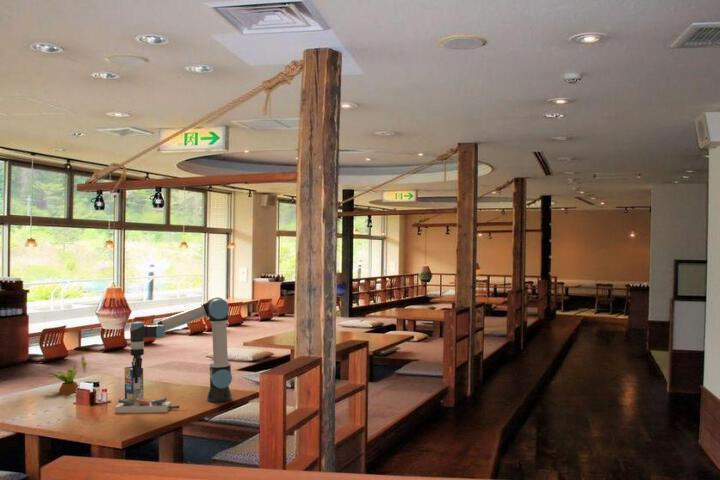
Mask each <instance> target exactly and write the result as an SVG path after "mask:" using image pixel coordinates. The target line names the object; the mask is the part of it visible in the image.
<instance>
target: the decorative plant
mask: <svg viewBox="0 0 720 480" xmlns="http://www.w3.org/2000/svg"><path fill="white" fill-rule="evenodd" d="M80 359H81V361H80V363H81V364H80V366H81V367H82V370H83V373H84V375H86V373H87V365H88V364H87V361H86V359H85V356H84V355H81V357H80ZM75 369H76V364H74V365H73V367H72V370H71V369H67V373H66V375H65V374H64V372H62V371H58V374H61V375H58V374H56V373H53V372H48V375H49V377H48V378H49V379H51V378H52V379H53V378H56V379H58V380H61V381H62V384H61V385H60V388H58V389H59V390H58V394H61V395H67V394H68V395H69V394H76V393H75V391H76V388H77V387H78V386H79V384H77V383H78V382H77V381H74V378H75V376H76V375H77V372H78V370H75ZM50 375H51V376H50Z"/></svg>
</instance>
